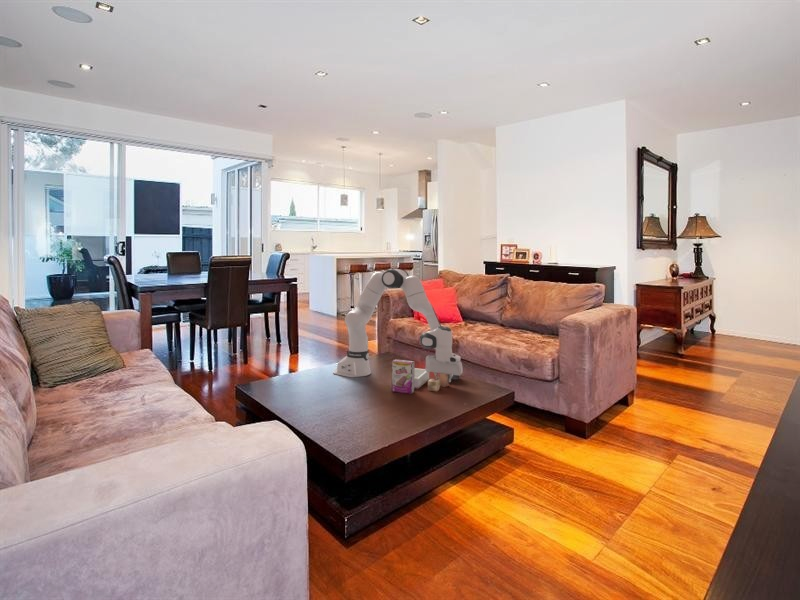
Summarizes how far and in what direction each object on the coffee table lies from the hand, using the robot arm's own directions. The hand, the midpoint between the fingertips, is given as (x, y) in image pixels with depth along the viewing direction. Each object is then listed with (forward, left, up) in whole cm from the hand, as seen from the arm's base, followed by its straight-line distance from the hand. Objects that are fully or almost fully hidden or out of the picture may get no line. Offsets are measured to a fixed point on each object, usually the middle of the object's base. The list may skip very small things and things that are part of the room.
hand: (443, 381), depth 246 cm
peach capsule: (0, 0, -2) cm, 2 cm away
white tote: (-18, -1, -2) cm, 18 cm away
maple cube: (-3, -8, -2) cm, 9 cm away
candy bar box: (-17, -18, -3) cm, 25 cm away
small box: (0, +13, -3) cm, 13 cm away
